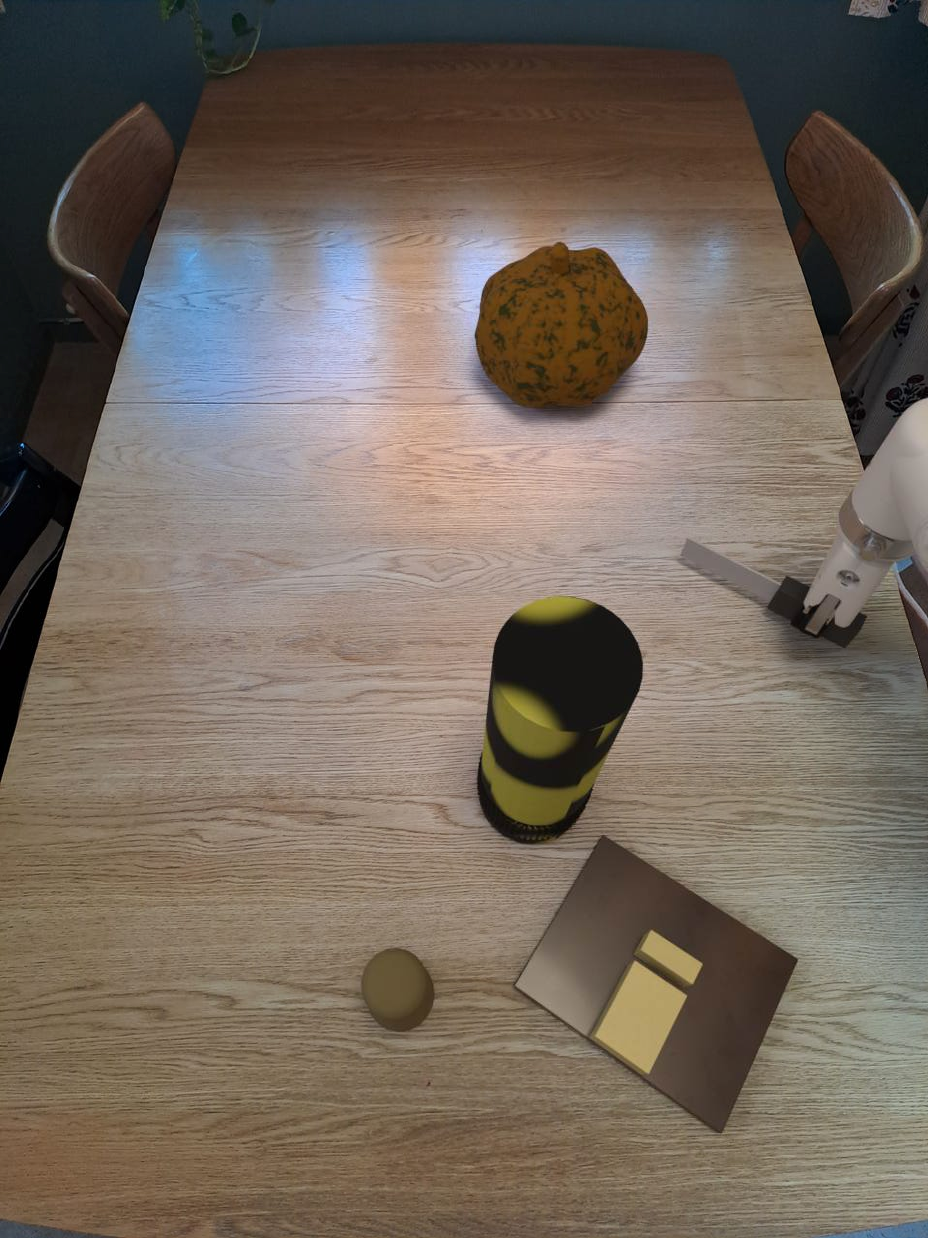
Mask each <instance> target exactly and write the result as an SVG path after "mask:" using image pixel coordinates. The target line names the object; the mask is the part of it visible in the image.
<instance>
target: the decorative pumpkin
mask: <svg viewBox="0 0 928 1238" xmlns="http://www.w3.org/2000/svg"><path fill="white" fill-rule="evenodd" d="M648 333H649V317H648V313H647V310H646V307H645V304H644V302H643V301H642V299H641V297H639V294H637V292H636V291H635V290H634V288H633V286H632V285H630V283H629V282H628V280H627V279H626V277H625V276H624V275H623V273H622V272H621V270H620V268H619V267H618V265H617V263H616V262H615V260H614V259H613V258H612V257H611V256H610V255H609V253H608V252H607V251H606V250H603V249H602V248H599V247H595V246H594V247H588V248H581V249H569V246H568V245H566V243H565V242H562V241H557V242H555V243H554V244H553V246H551V245H545V246H544V245H543V246H541V247H539V248H537V249H535V250H533V251H532V252H531V253H529V254H528V255H526V256H525V257H523V258H520V259H518V260H515V261H513V262H510V263H508V264H506V265H504V266H503V267H502V268H500V269H499V270H497V271H496V272H495V273H493V274H492V275H490V277H489V278H488V279H487V280H486V281H485V284H484V285H483V288H482V290H481V295H480V302H479V314H478V318H477V323H476V327H475V331H474V335H473V337H474V340H475V348H476V352H477V356H478V359H479V362H480V365H481V367H482V370H483V371H484V373H485V375H486V377H487V378H488V380H489V381H490V382H491V383H492V384H494V385H495V386H496V387H497V388H498V389H499V390H500V391H501V392H502V393H503V394H505V396H507V397H508V398H509V399H510V400H512V401H513V402H514V403H516V404H517V405H519V406H521V407H525V408H526V407H527V408H557V407H560V406H564V407H567V406H568V407H575V408H577V407H578V408H583V407H584V408H585V407H588V406H590V405H591V404H592V403H594V402H595V401H596V400H598V399H599V398H601V397H602V396H603V395H605V394H606V393H607V392H608V391H609V390H610V389H611V388H612V387H613V386H614V385H615V384H616V383H617V382H618V381H619V379H620V378H621V377H622V376H623V375H624V374H625V373H626V372H627V371H628V370H629V369H630V368H631V367H632V366H633V365H634V364H635V363H636V361H638V359H639V357H640V356H641V354H642V352H643V350H644V348H645V345H646V341H647V339H648Z"/></svg>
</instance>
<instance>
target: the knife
mask: <svg viewBox="0 0 928 1238" xmlns="http://www.w3.org/2000/svg"><path fill="white" fill-rule="evenodd" d="M679 557H681V558H682V559H685V560H686V561H689V562H691V563H693V564H695V565H697V566H699V567H700V568H703V569H704V570H707V571H708V572H710V573H712V574H714V575H716V576H718V577H720V578H721V579H723V580H726V581H728V582H730V583H731V584H733V585H735V586H737V587H739V588H742V589H743V590H745V591H747V592H748V593H751V594H753V595H755V596H756V597H758V598H760V599H763V600H764V601H766V602H768V605H767V607H766V609H767V610H769V611H771V612H772V613H774V614H776V615H778V616H781V617H782V618H784V619H786V620H788V621H790V622H791V621H792V620H793V618H794V617H795V615H796V614H797V613H798V611H799V610H800V608H801V607H802V606H803V604H804V600H805V598H806V596H807V594H808V591H809V589H810V587H811V586H809V585H807V584H805V583H803V582H801V581H799V580H798V579H795V578H793V577H791V576H789V575H785V576H784V578H783V580H782V582H779V581H777V580H775V579H773V578H771V577H769V576H767V575H765V574H763V573H762V572H760V571H757V570H756V569H753V568H752V567H750V566H748V565H746V564H743V563H742V562H739V561H738V560H736V559H734V558H732V557H730V556H728V555H727V554H726V555H725V554H724V553H722V552H720V551H718V550H716V549H714V548H712V547H710V546H709V545H706V544H704V543H703V542H700V541H698V540H696V539H694V538H692V537H691V536H687V538H686V540H685V542H684V545H683V547H682V549H681V552H680V554H679ZM817 606H819V604H817ZM867 618H868V615H866V614H864V613H862V612H861V611H859V613H858V614H857V615H856V617H855V618H854V620H853V621H852V622H851V624H850V625H849V626H847V627H840V626H838V625H836V624H835V616H834V618H833V620H832V622H831V623H830V624H829V625H828V627H827V628H826V629H825V630H824V632H823V633H822V634H821V635H820V637H821V638H823V639H825V640H826V641H829V642H830V643H832V644H833V645H836V646H838V647H839V648H841V649H844V650H845V649H846V648H847V647H848V646H849V644H850V643H851V642H852V641H853V640H854V639H855V638H856V636H857V635H858V634H859V633H860V632H861V630H862V628H863V626H864V624H865V622H866V620H867Z"/></svg>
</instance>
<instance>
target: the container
mask: <svg viewBox="0 0 928 1238" xmlns="http://www.w3.org/2000/svg"><path fill="white" fill-rule="evenodd" d="M643 672H644V661H643V655H642V651H641V647H640V645H639V643H638V641H637V639H636V637H635V635H634V634H633V632H632V630H631V629H630V628H629V627H628V625H627V624H626V623H625V622H624V621H623V619H621V618H620V617H619V616H618V615H617V614H615V612H613V611H612V610H610V609H608V608H607V607H605V606H604V605H601V604H599V603H597V602H595V601H592V600H589V599H585V598H581V597H576V596H569V595H568V596H567V595H566V596H565V595H559V596H558V595H557V596H549V597H544V598H541V599H537V600H534V601H533V602H530V603H528V604H526V605H524V606H522V607H521V608H519V609H518V610H517V611H515V612H514V613H513V614H512V615H511V616H510V617H508V619H507V620H506V621H505V622H504V624H503V625H502V627H501V628H500V630H499V631H498V634H497V637H496V640H495V642H494V644H493V652H492V659H491V669H490V678H489V688H488V697H487V705H486V714H485V715H486V717H485V724H484V725H485V726H484V735H483V745H482V750H481V751H480V756H479V759H478V760H479V761H478V762H477V763H478V765H477V775H476V790H477V795H478V801H479V805H480V807H481V809H482V812H483V814H484V817H485V818H486V820H487V821H488V823H489V824H490V826H491V827H492V828H494V829H495V830H496V831H497V832H498V833H499V834H501V836H503V837H505V838H508V839H509V840H511V841H514V842H516V843H519V844H526V845H538V844H546V843H549V842H550V841H553V840H556V839H558V838H560V837H561V836H562V835H563V834H565V833H566V832H568V831H569V830H570V828H572V826H573V825H574V824H576V823H577V820H580V818H581V816H582V814H583V813H584V811H585V809H586V807H587V805H588V802H589V800H590V799H591V797H592V793H593V791H594V786H595V783H596V780H597V778H598V776H599V774H600V772H601V770H602V768H603V766H604V764H605V762H606V761H607V760H606V759H607V757H608V755H609V753H610V752H611V749H612V748H613V746H614V743H615V742H616V740H617V737H618V735H619V733H620V731H621V729H622V727H623V725H624V723H625V721H626V719H627V717H628V715H629V713H630V711H631V708H632V707H633V705H634V703H635V700H636V699H637V696H638V694H639V692H640V688H641V685H642V682H643V678H644V673H643Z"/></svg>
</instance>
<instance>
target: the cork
mask: <svg viewBox="0 0 928 1238" xmlns="http://www.w3.org/2000/svg"><path fill="white" fill-rule="evenodd" d="M360 985H361V995H362V997H363V1000H364V1002H365V1005H366V1006H367V1008H368V1010H369V1013H370V1015H371V1017H372V1018H373V1019H374V1021H375V1022H376V1023H377V1024H378V1025H379V1026H381V1028H384V1029H386V1030H387V1031H391V1032H396V1033H401V1032H408V1031H411V1030H413V1029H415V1028H417V1027H419V1026H420V1025H421V1024H422V1023H423V1022H424V1021H425V1020H426V1019H427V1018H428V1017H429V1014H430V1013H431V1010H432V1008H433V1006H434V1000H435V985H434V982H433V980H432V976H431V975H430V973H429V971H428V970H427V969H426V968H425V967H424V965H423V962H422V961H421V960H420V959H419V957H418V956H417V955H416V954H414V953H412V952H411V951H409V950H407V949H404V948H399V947H393V948H386V949H384V950H382V951H380V952H378V953H376V954H375V955H374V956H373V957H372V958H371V959H370V960H368V963H367V964H366V966H365V967H364V970H363V972H362V977H361V981H360Z"/></svg>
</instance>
